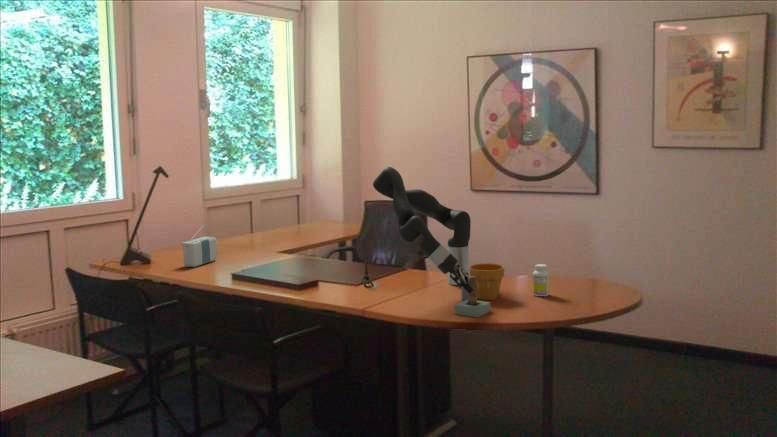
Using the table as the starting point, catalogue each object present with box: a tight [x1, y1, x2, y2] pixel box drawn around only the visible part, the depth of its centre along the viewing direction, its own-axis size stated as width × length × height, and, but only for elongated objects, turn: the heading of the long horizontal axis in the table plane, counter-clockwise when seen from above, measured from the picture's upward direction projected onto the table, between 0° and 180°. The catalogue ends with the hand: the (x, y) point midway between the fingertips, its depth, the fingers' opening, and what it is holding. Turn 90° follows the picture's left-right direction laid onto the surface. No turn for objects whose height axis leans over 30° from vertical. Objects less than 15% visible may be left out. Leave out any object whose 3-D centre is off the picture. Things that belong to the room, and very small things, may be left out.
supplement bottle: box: [532, 263, 550, 297], centre depth 312 cm, size 7×7×13 cm
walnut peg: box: [468, 275, 478, 306], centre depth 287 cm, size 3×3×14 cm
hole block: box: [454, 299, 491, 318], centre depth 288 cm, size 10×10×4 cm
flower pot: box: [469, 263, 505, 301], centre depth 310 cm, size 14×14×13 cm
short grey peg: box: [461, 287, 468, 302], centre depth 300 cm, size 3×3×7 cm
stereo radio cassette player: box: [181, 224, 218, 268], centre depth 396 cm, size 21×8×20 cm, turn 158°
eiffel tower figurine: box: [359, 259, 381, 291], centre depth 337 cm, size 15×10×13 cm
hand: (472, 288), depth 287 cm, fingers open, 8 cm apart
